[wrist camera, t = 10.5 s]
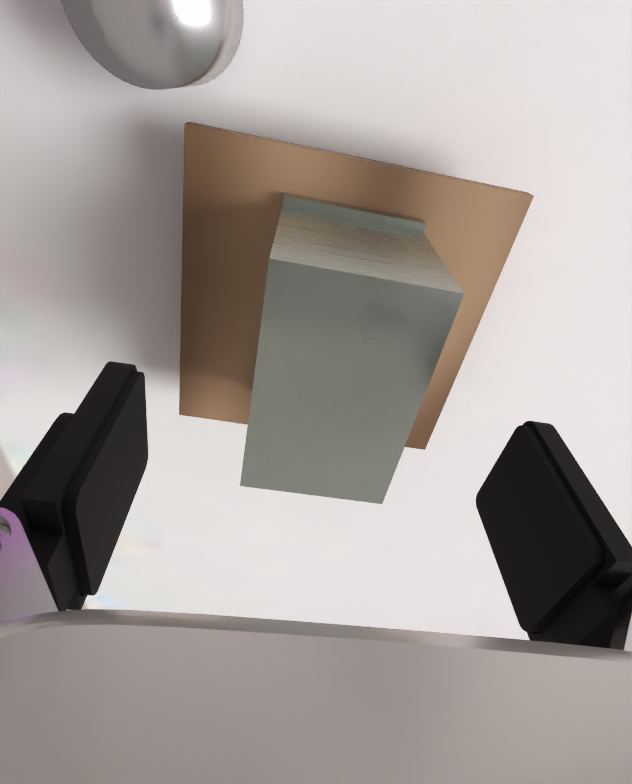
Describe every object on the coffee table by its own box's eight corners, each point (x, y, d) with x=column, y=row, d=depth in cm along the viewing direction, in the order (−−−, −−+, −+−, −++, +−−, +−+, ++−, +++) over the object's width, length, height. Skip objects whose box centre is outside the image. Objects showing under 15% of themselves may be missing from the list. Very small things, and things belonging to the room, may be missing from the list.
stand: (193, 379, 24) (179, 414, 21) (203, 116, 17) (184, 123, 15) (414, 412, 25) (424, 449, 23) (504, 179, 18) (533, 196, 16)
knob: (114, 71, 16) (64, 71, 13) (106, -102, 14) (41, -155, 11) (237, 98, 17) (218, 104, 14) (249, -65, 14) (230, -105, 11)
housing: (284, 192, 16) (270, 246, 11) (423, 219, 16) (469, 282, 11) (257, 392, 21) (239, 491, 16) (365, 408, 21) (379, 509, 16)
